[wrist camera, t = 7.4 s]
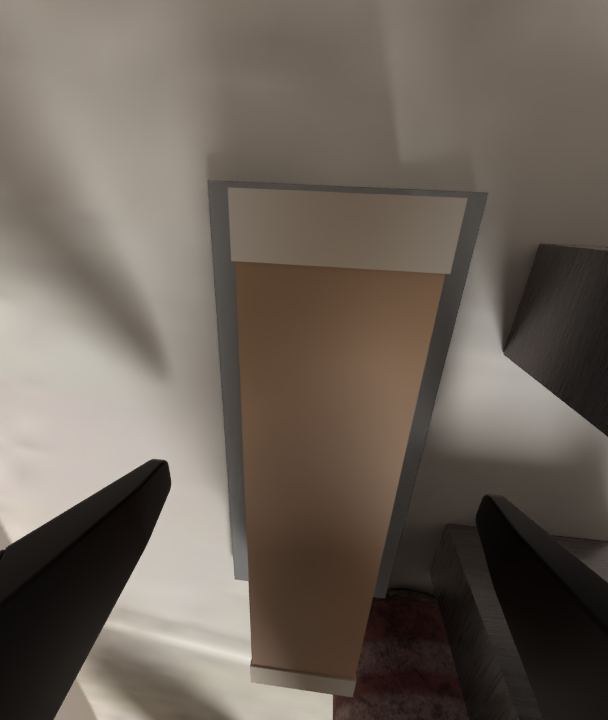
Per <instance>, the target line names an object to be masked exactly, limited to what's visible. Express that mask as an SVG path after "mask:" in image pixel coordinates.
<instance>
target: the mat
mask: <svg viewBox="0 0 608 720" xmlns="http://www.w3.org/2000/svg"><path fill="white" fill-rule="evenodd" d="M228 187H229V188H252V189H275V190H297V191H320V192H343V193H365V194H388V195H411V196H433V197H456V198H468V199H467V203H466V208H465V212H464V216H463V221H462V225H461V229H460V234H459V238H458V242H457V247H456V251H455V255H454V260H453V264H452V268H451V273H450V274H445V278H444V283H443V287H442V292H441V296H440V301H439V305H438V310H437V314H436V319H435V323H434V327H433V332H432V336H431V341H430V345H429V350H428V354H427V359H426V363H425V367H424V372H423V376H422V381H421V385H420V390H419V394H418V399H417V403H416V408H415V412H414V416H413V421H412V425H411V430H410V434H409V439H408V443H407V448H406V452H405V457H404V461H403V465H402V470H401V474H400V479H399V483H398V488H397V492H396V497H395V501H394V506H393V510H392V514H391V519H390V523H389V528H388V532H387V537H386V541H385V546H384V550H383V555H382V559H381V563H380V568H379V572H378V577H377V581H376V586H375V590H374V595H373V597H377V598H385V597H386V593H387V589H388V585H389V581H390V577H391V573H392V569H393V565H394V561H395V557H396V553H397V549H398V545H399V541H400V537H401V534H402V530H403V526H404V522H405V518H406V514H407V510H408V506H409V502H410V498H411V494H412V490H413V486H414V482H415V478H416V474H417V471H418V467H419V463H420V459H421V455H422V451H423V447H424V443H425V439H426V435H427V431H428V427H429V423H430V419H431V415H432V411H433V408H434V404H435V400H436V396H437V392H438V388H439V384H440V380H441V376H442V372H443V368H444V364H445V360H446V356H447V352H448V348H449V345H450V341H451V337H452V333H453V329H454V325H455V321H456V317H457V313H458V309H459V305H460V301H461V297H462V293H463V289H464V285H465V282H466V278H467V274H468V270H469V266H470V262H471V258H472V254H473V250H474V246H475V242H476V238H477V234H478V230H479V226H480V222H481V218H482V215H483V211H484V207H485V203H486V199H487V195H488V193H479V192H456V191H434V190H411V189H389V188H366V187H344V186H322V185H299V184H277V183H254V182H232V181H209V180H208V193H209V207H210V222H211V237H212V252H213V266H214V281H215V296H216V310H217V325H218V340H219V354H220V369H221V384H222V399H223V413H224V428H225V443H226V457H227V472H228V487H229V502H230V516H231V531H232V546H233V560H234V575H235V579H237V580H245V581H249V577H248V553H247V529H246V506H245V482H244V458H243V434H242V410H241V386H240V362H239V338H238V314H237V290H236V266H235V261H231V247H230V225H229V204H228Z"/></svg>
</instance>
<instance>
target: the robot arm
mask: <svg viewBox="0 0 608 720" xmlns="http://www.w3.org/2000/svg"><path fill="white" fill-rule="evenodd" d="M170 488H171V477H170V471H169V465H168V462H167V461H166V460H159V459H152V460H150V461H148V462H146V463H145V464H143V465H141V466H140V467H138V468H136V469H135V470H133V471H131V472H130V473H128V474H126V475H125V476H123V477H121V478H120V479H118V480H116V481H115V482H113V483H112V484H110V485H108V486H107V487H105V488H103V489H102V490H100V491H98V492H97V493H95V494H93V495H92V496H90V497H88V498H87V499H85V500H83V501H82V502H80V503H79V504H77V505H75V506H74V507H72V508H70V509H69V510H67V511H65V512H64V513H62V514H60V515H59V516H57V517H55V518H54V519H52V520H50V521H49V522H47V523H46V524H44V525H42V526H41V527H39V528H37V529H36V530H34V531H32V532H31V533H29V534H27V535H26V536H24V537H22V538H21V539H19V540H17V541H16V542H14V543H12V544H11V545H9V546H8V547H6V549H5V550H1V551H0V720H54V718H55V716H56V714H57V712H58V710H59V708H60V706H61V705H62V703H63V701H64V699H65V697H66V695H67V693H68V692H69V690H70V688H71V686H72V684H73V682H74V680H75V679H76V677H77V675H78V673H79V671H80V669H81V667H82V665H83V664H84V662H85V660H86V658H87V656H88V654H89V652H90V650H91V649H92V647H93V645H94V643H95V641H96V639H97V637H98V636H99V634H100V632H101V630H102V628H103V626H104V624H105V622H106V621H107V619H108V617H109V615H110V613H111V611H112V609H113V608H114V606H115V604H116V602H117V600H118V598H119V596H120V594H121V593H122V591H123V589H124V587H125V585H126V583H127V581H128V579H129V578H130V576H131V574H132V572H133V570H134V568H135V566H136V565H137V563H138V561H139V559H140V557H141V555H142V553H143V551H144V549H145V547H146V545H147V543H148V541H149V539H150V537H151V534H152V532H153V530H154V527H155V525H156V522H157V520H158V518H159V515H160V513H161V510H162V508H163V506H164V503H165V501H166V498H167V496H168V494H169V491H170ZM476 526H477V530H478V533H479V537H480V541H481V544H482V548H483V552H484V555H485V559H486V563H487V566H488V570H489V574H490V577H491V581H492V584H493V587H494V590H495V593H496V596H497V598H498V601H499V604H500V606H501V609H502V612H503V614H504V617H505V620H506V622H507V625H508V628H509V630H510V633H511V636H512V638H513V641H514V643H515V646H516V649H517V651H518V654H519V657H520V659H521V662H522V665H523V667H524V670H525V673H526V675H527V678H528V681H529V683H530V686H531V688H532V691H533V694H534V696H535V699H536V702H537V704H538V707H539V710H540V712H541V715H542V718H543V720H608V582H607V581H606V580H605V579H603V578H602V577H601V576H600V575H599V574H597V573H596V572H595V571H594V570H592V569H591V568H590V567H589V566H587V565H586V564H585V563H584V562H583V561H581V560H580V559H579V558H578V557H576V556H575V555H574V554H573V553H572V552H570V551H569V550H568V549H567V548H565V547H564V546H563V545H562V544H561V543H559V542H558V541H557V540H556V539H554V538H553V537H552V536H551V535H550V534H548V533H547V532H546V531H545V530H543V529H542V528H541V527H540V526H539V525H537V524H536V523H535V522H534V521H532V520H531V519H530V518H529V517H528V516H526V515H525V514H524V513H523V512H521V511H520V510H519V509H518V508H517V507H515V506H514V505H513V504H512V503H510V502H509V501H508V500H507V499H506V498H504V497H503V496H500V495H491V494H486V495H484V496H483V498H482V501H481V503H480V506H479V509H478V511H477V514H476Z"/></svg>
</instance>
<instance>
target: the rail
mask: <svg viewBox="0 0 608 720" xmlns="http://www.w3.org/2000/svg"><path fill="white" fill-rule="evenodd" d="M467 199H468V198H456V197H433V196H411V195H388V194H365V193H343V192H320V191H297V190H275V189H252V188H229V187H228V204H229V225H230V247H231V261H235V266H236V290H237V314H238V338H239V362H240V386H241V410H242V434H243V458H244V482H245V506H246V529H247V553H248V577H249V601H250V625H251V649H252V660H251V665H250V673H251V682H252V683H259V684H266V685H273V686H279V687H286V688H293V689H299V690H306V691H313V692H320V693H326V694H333V695H340V696H346V697H353V693H354V689H355V685H356V670H357V666H358V661H359V657H360V652H361V648H362V644H363V639H364V635H365V630H366V626H367V621H368V617H369V612H370V608H371V603H372V599H373V595H374V590H375V586H376V581H377V577H378V572H379V568H380V563H381V559H382V555H383V550H384V546H385V541H386V537H387V532H388V528H389V523H390V519H391V514H392V510H393V506H394V501H395V497H396V492H397V488H398V483H399V479H400V474H401V470H402V465H403V461H404V457H405V452H406V448H407V443H408V439H409V434H410V430H411V425H412V421H413V416H414V412H415V408H416V403H417V399H418V394H419V390H420V385H421V381H422V376H423V372H424V367H425V363H426V359H427V354H428V350H429V345H430V341H431V336H432V332H433V327H434V323H435V319H436V314H437V310H438V305H439V301H440V296H441V292H442V287H443V283H444V278H445V274H450V273H451V268H452V264H453V260H454V255H455V251H456V247H457V242H458V238H459V234H460V229H461V225H462V221H463V216H464V212H465V208H466V203H467Z"/></svg>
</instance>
